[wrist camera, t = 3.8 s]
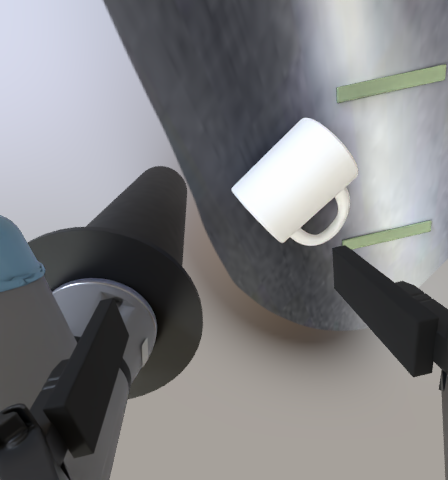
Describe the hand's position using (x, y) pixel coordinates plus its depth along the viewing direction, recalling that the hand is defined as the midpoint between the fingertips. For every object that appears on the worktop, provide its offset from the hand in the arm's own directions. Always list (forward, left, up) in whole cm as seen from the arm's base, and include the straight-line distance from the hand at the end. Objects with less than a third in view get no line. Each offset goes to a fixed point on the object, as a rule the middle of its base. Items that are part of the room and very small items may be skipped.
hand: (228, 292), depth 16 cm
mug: (+10, 0, -19) cm, 21 cm away
